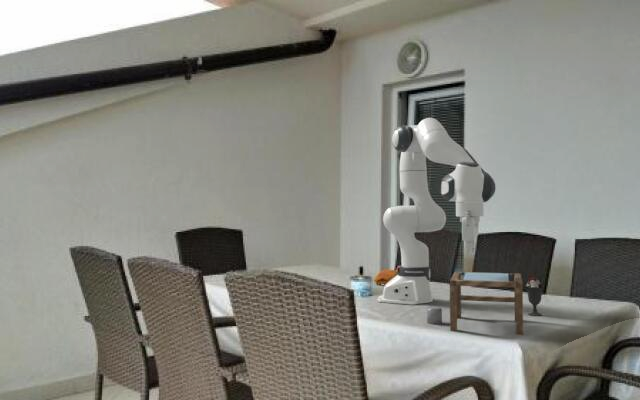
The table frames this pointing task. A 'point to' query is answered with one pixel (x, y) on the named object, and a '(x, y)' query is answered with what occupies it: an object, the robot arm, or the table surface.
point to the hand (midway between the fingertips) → (470, 253)
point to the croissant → (385, 276)
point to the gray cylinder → (434, 315)
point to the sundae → (534, 294)
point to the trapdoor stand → (485, 297)
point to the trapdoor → (486, 276)
